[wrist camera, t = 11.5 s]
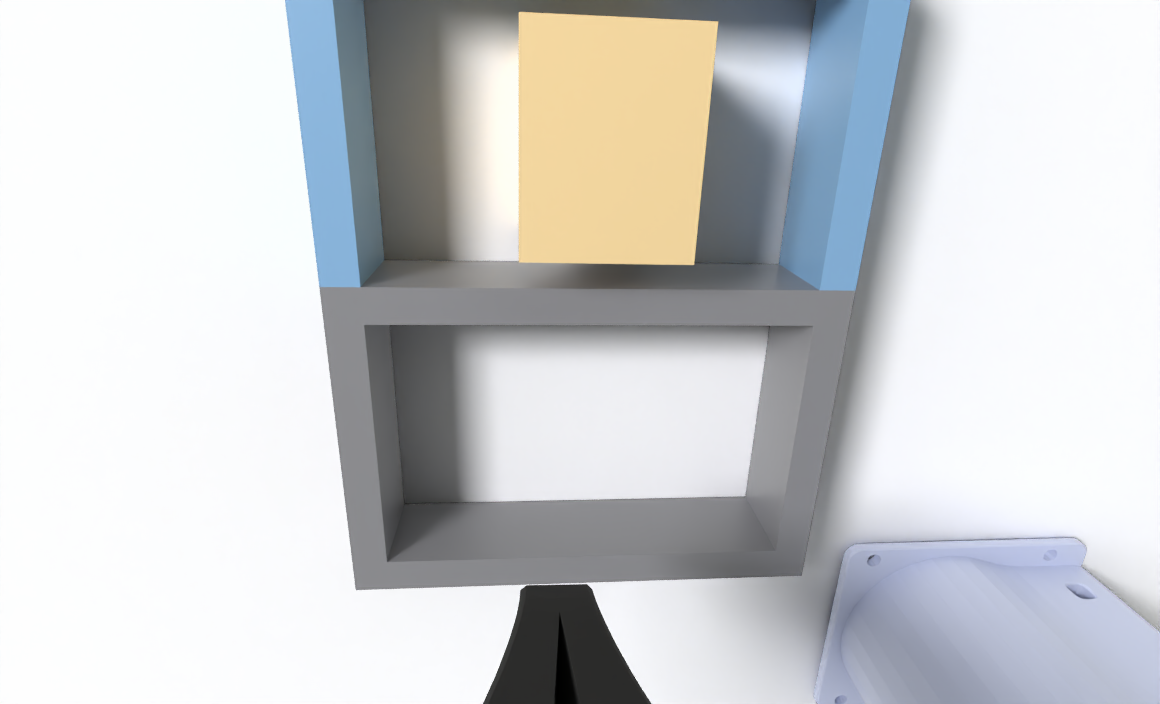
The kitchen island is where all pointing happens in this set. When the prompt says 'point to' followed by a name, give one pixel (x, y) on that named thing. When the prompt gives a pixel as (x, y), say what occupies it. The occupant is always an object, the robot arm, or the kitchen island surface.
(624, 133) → the sand colored cube
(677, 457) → the kitchen island surface
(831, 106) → the two-compartment tray
